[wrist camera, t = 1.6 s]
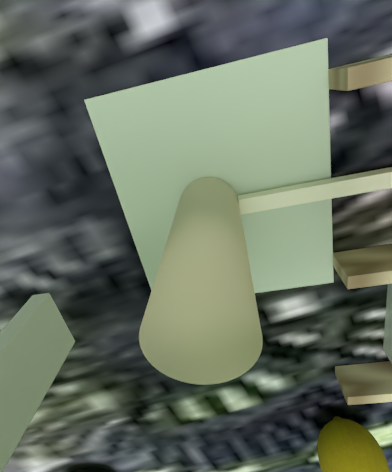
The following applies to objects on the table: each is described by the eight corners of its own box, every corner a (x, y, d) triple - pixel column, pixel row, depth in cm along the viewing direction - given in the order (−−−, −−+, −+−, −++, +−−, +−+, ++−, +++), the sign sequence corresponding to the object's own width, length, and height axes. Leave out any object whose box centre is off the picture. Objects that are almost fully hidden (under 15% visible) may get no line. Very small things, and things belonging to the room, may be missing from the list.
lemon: (377, 409, 30) (427, 513, 23) (344, 438, 32) (380, 540, 25) (327, 393, 29) (362, 494, 22) (297, 424, 32) (321, 524, 24)
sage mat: (157, 304, 25) (157, 306, 25) (85, 99, 18) (84, 99, 18) (332, 280, 23) (333, 282, 23) (326, 38, 16) (327, 37, 16)
